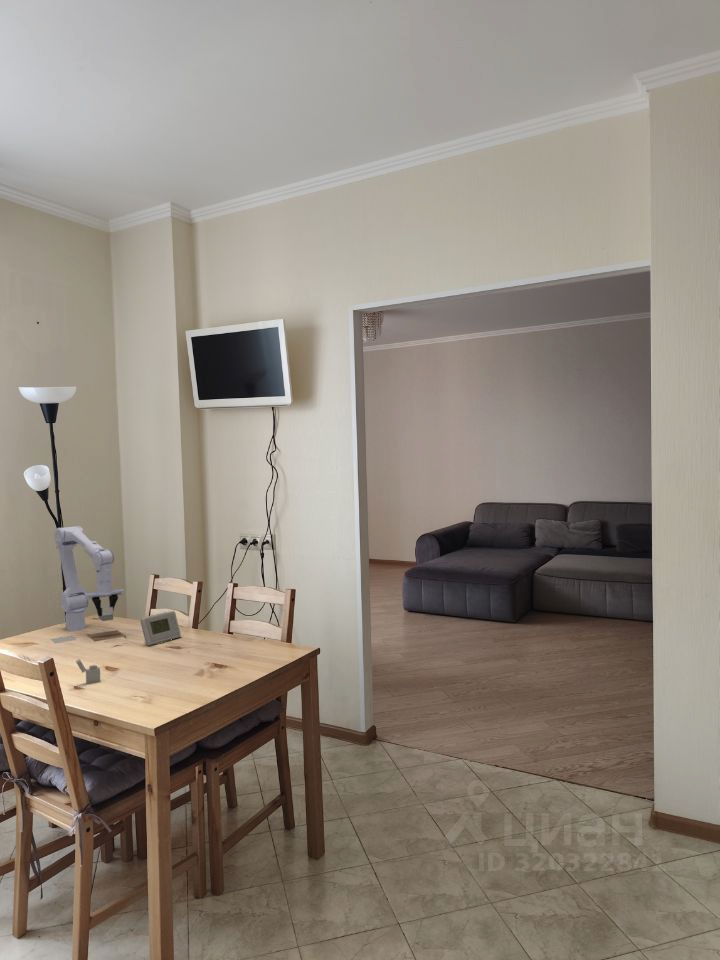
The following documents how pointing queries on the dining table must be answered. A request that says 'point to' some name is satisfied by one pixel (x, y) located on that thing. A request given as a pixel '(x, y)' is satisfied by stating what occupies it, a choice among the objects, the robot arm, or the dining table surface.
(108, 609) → the housing
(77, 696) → the dining table surface
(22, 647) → the dining table surface
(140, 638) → the dining table surface
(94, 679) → the lighter
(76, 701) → the dining table surface
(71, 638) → the grey stand
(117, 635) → the walnut stand
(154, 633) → the digital clock
